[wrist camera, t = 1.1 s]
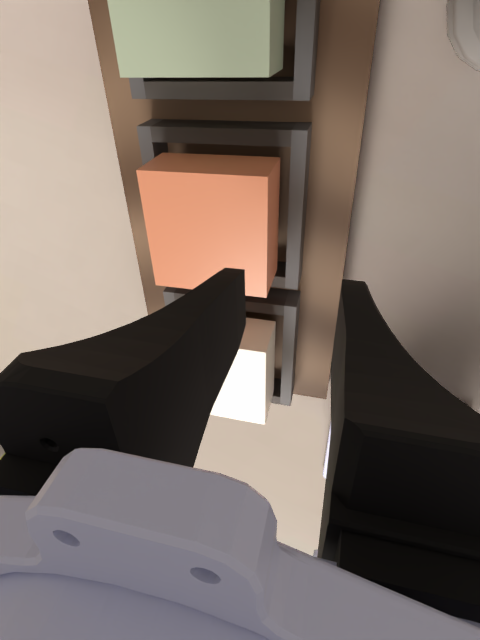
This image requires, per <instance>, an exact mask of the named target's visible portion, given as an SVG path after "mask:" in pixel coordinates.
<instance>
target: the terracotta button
mask: <svg viewBox="0 0 480 640" xmlns="http://www.w3.org/2000/svg"><path fill="white" fill-rule="evenodd" d="M136 173H137V178H138V184H139V190H140V196H141V202H142V208H143V214H144V219H145V225H146V231H147V237H148V243H149V249H150V255H151V261H152V266H153V272H154V278H155V284H156V285H159V286H167V287H176V288H185V289H194V288H195V287H197V286H198V285H200V284H201V283H203V282H204V281H206V280H207V279H209V278H210V277H212V276H213V275H215V274H216V273H217V272H219V271H221V270H222V269H224V268H235V269H245V295H246V296H254V297H263V298H267V295H268V293H269V290H270V287H271V285H272V282H273V279H274V276H275V274H276V271H277V259H278V224H279V188H280V157H261V156H236V155H212V154H187V153H161V154H159V155H158V156H156V157H155V158H153V159H152V160H150V161H149V162H147V163H146V164H145V165H143V166H142V167H140V168H139V169H137V170H136Z"/></svg>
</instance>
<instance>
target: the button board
mask: <svg viewBox="0 0 480 640" xmlns="http://www.w3.org/2000/svg"><path fill="white" fill-rule="evenodd" d="M88 4H89V9H90V14H91V19H92V25H93V30H94V35H95V40H96V45H97V51H98V56H99V61H100V66H101V72H102V77H103V82H104V87H105V92H106V98H107V103H108V108H109V113H110V118H111V124H112V129H113V134H114V139H115V144H116V150H117V155H118V160H119V165H120V170H121V176H122V181H123V186H124V191H125V197H126V202H127V207H128V212H129V217H130V223H131V228H132V233H133V238H134V243H135V249H136V254H137V259H138V264H139V269H140V275H141V280H142V285H143V290H144V296H145V301H146V306H147V311H148V315H150V314H152V313H154V312H156V311H158V310H159V309H161V308H163V307H165V306H166V305H168V304H170V303H172V302H173V301H175V300H177V299H178V298H180V297H182V296H183V295H185V294H186V293H188V292H189V291H191V290H192V289H185V288H176V287H167V286H159V285H156V284H155V278H154V272H153V266H152V261H151V255H150V249H149V243H148V237H147V231H146V225H145V219H144V214H143V208H142V202H141V196H140V190H139V184H138V178H137V173H136V170H137V169H139V168H140V167H142V166H143V165H145V164H146V163H147V162H149V161H150V160H152V159H153V158H155V157H156V156H158V155H159V154H161V153H187V154H212V155H236V156H261V157H280V188H279V224H278V259H277V271H276V274H275V276H274V279H273V282H272V285H271V287H270V290H269V293H268V295H267V298H263V297H254V296H246V295H245V305H246V318H254V319H262V320H270V321H276V329H275V364H274V392H273V396H272V400H271V403H275V404H281V405H287V406H290V405H291V400H292V395H293V394H298V395H304V396H310V397H316V398H322V399H326V397H327V390H328V383H329V375H330V368H331V360H332V353H333V345H334V336H335V329H336V321H337V314H338V307H339V299H340V292H341V284H342V279H343V271H344V264H345V257H346V249H347V242H348V234H349V227H350V220H351V212H352V205H353V197H354V190H355V182H356V175H357V168H358V160H359V153H360V145H361V138H362V131H363V123H364V116H365V108H366V101H367V94H368V86H369V79H370V71H371V64H372V56H373V49H374V42H375V34H376V27H377V19H378V12H379V5H380V0H285V12H284V48H283V69H282V70H280V71H278V72H277V73H275V74H274V75H272V76H271V77H201V78H120V73H119V67H118V61H117V55H116V49H115V43H114V38H113V32H112V26H111V20H110V14H109V8H108V2H107V0H88Z"/></svg>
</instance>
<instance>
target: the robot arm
mask: <svg viewBox="0 0 480 640" xmlns="http://www.w3.org/2000/svg"><path fill="white" fill-rule="evenodd" d="M245 326H246V305H245V269H235V268H224V269H222V270H221V271H219V272H217V273H216V274H215V275H213V276H212V277H210V278H209V279H207V280H206V281H204V282H203V283H201V284H200V285H198V286H197V287H195V288H194V289H192V290H191V291H189V292H188V293H186V294H185V295H183V296H182V297H180V298H178V299H177V300H175V301H173V302H172V303H170V304H168V305H166V306H165V307H163V308H161V309H159V310H158V311H156V312H154V313H152V314H150V315H148V316H146V317H143V318H141V319H139V320H137V321H135V322H132V323H130V324H127V325H125V326H122V327H119V328H117V329H114V330H111V331H109V332H106V333H103V334H100V335H97V336H94V337H91V338H87V339H84V340H80V341H76V342H73V343H69V344H65V345H60V346H56V347H51V348H46V349H41V350H36V351H31V352H25V353H21V354H19V355H18V356H17V357H16V358H15V359H14V360H13V361H12V362H11V363H10V364H9V365H8V366H7V367H6V368H5V369H4V370H3V371H2V372H1V373H0V444H1V446H2V448H3V449H4V451H5V455H4V456H3V457H2V458H1V459H0V640H480V414H479V413H477V412H476V411H474V410H473V409H471V408H470V407H469V406H467V405H466V404H464V403H463V402H462V401H460V400H459V399H458V398H456V397H455V396H454V395H452V394H451V393H450V392H449V391H447V390H446V389H445V388H444V387H442V386H441V385H440V384H439V383H438V382H437V381H436V380H434V379H433V378H432V377H431V376H430V375H429V374H428V373H427V372H426V371H424V370H423V369H422V368H421V367H420V366H419V365H418V364H417V363H416V362H415V360H414V359H413V358H412V357H411V356H410V355H409V354H408V353H407V351H406V350H405V349H404V348H403V346H402V345H401V344H400V342H399V341H398V340H397V338H396V337H395V336H394V334H393V333H392V331H391V330H390V328H389V327H388V325H387V324H386V322H385V320H384V319H383V317H382V315H381V314H380V312H379V310H378V308H377V306H376V304H375V303H374V301H373V298H372V296H371V294H370V292H369V289H368V286H367V285H366V283H365V282H363V281H353V280H343V279H342V284H341V292H340V299H339V307H338V314H337V321H336V329H335V336H334V345H333V353H332V361H331V423H330V429H329V436H328V443H327V449H326V456H325V462H324V469H323V477H324V478H325V479H326V484H325V493H324V502H323V511H322V520H321V529H320V538H319V547H318V550H314V555H313V556H311V555H308V554H306V553H304V552H302V551H299V550H297V549H295V548H292V547H290V546H288V545H285V544H283V543H281V542H278V541H277V539H276V531H277V520H276V517H275V515H274V513H273V510H272V508H271V505H270V503H269V502H268V501H267V499H266V498H265V497H263V496H262V495H261V494H260V493H258V492H257V491H256V490H254V489H253V488H252V487H251V486H249V485H248V484H247V483H245V482H242V481H239V480H237V479H234V478H231V477H229V476H226V475H223V474H221V473H216V472H211V471H207V470H202V469H197V468H193V466H194V463H195V460H196V456H197V453H198V450H199V446H200V443H201V440H202V437H203V434H204V431H205V428H206V425H207V422H208V418H209V416H210V413H211V411H212V408H213V406H214V403H215V401H216V399H217V397H218V394H219V392H220V390H221V388H222V386H223V383H224V381H225V379H226V377H227V375H228V373H229V370H230V368H231V366H232V364H233V361H234V359H235V357H236V355H237V352H238V350H239V347H240V343H241V340H242V336H243V333H244V329H245Z"/></svg>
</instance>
